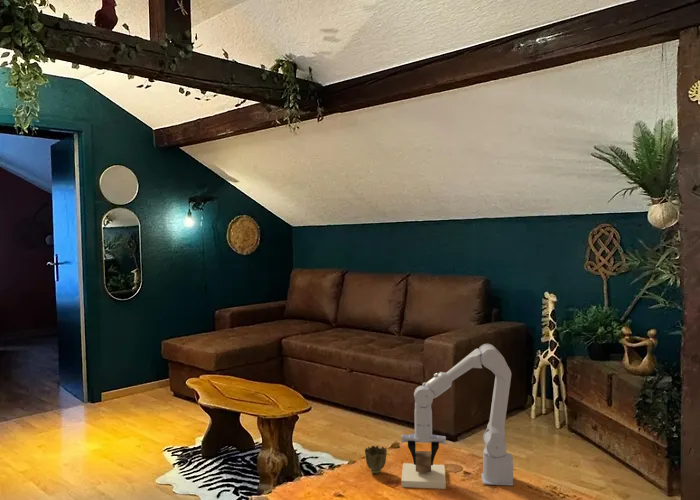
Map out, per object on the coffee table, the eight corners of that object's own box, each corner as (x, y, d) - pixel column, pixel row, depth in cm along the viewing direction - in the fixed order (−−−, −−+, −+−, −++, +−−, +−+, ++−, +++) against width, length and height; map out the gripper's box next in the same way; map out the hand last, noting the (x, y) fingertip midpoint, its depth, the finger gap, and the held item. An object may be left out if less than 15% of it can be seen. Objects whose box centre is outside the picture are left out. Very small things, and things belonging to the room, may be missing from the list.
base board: (444, 470, 206) (444, 464, 206) (445, 488, 192) (445, 482, 192) (403, 468, 207) (403, 463, 207) (401, 486, 194) (401, 480, 193)
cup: (361, 474, 203) (360, 451, 203) (370, 466, 210) (370, 444, 209) (381, 479, 200) (381, 455, 199) (390, 470, 206) (390, 447, 206)
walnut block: (431, 466, 202) (430, 451, 202) (431, 472, 197) (431, 457, 197) (416, 465, 203) (415, 450, 202) (415, 471, 198) (415, 456, 197)
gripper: (445, 419, 202) (445, 459, 202) (401, 418, 204) (401, 458, 204) (445, 427, 195) (446, 468, 195) (400, 425, 197) (401, 466, 197)
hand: (423, 463), depth 199 cm, fingers closed on walnut block, 5 cm apart
